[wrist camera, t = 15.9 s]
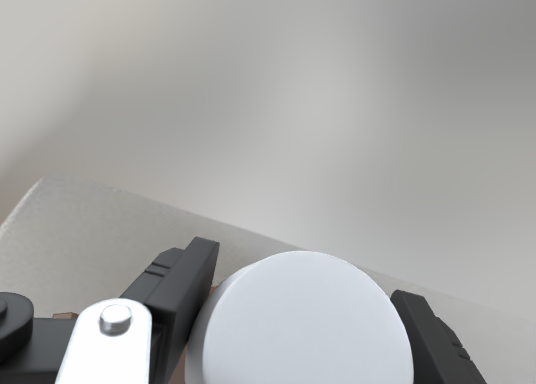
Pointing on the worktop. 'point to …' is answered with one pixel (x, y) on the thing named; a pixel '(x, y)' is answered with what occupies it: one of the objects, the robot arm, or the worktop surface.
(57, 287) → the worktop surface
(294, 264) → the pill bottle
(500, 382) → the worktop surface
